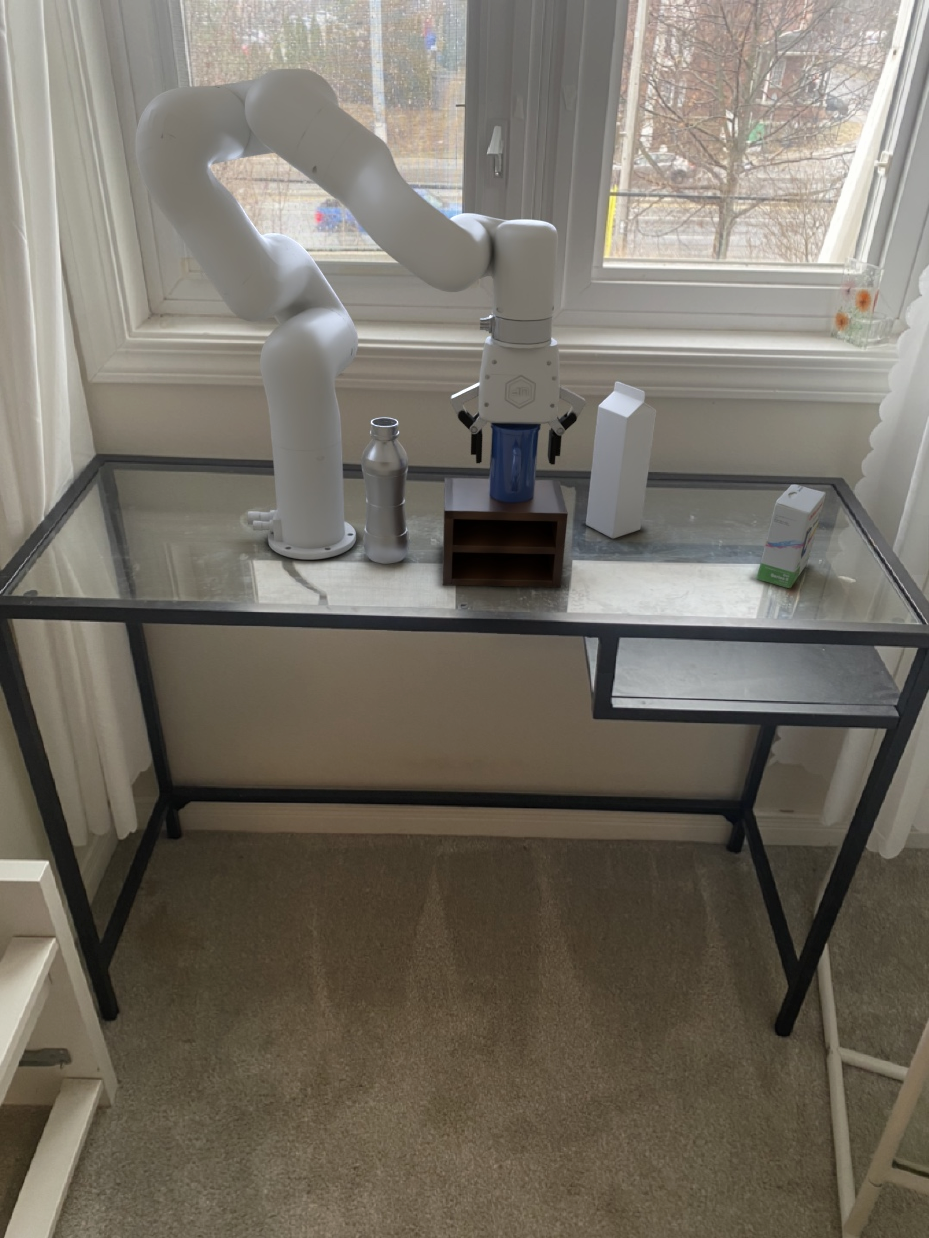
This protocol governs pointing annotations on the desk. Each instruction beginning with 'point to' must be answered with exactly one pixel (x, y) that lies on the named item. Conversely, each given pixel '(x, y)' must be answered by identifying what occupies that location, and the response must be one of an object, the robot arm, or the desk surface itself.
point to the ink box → (791, 535)
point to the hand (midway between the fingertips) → (514, 460)
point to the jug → (513, 461)
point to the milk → (620, 462)
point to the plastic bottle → (385, 493)
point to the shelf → (503, 536)
